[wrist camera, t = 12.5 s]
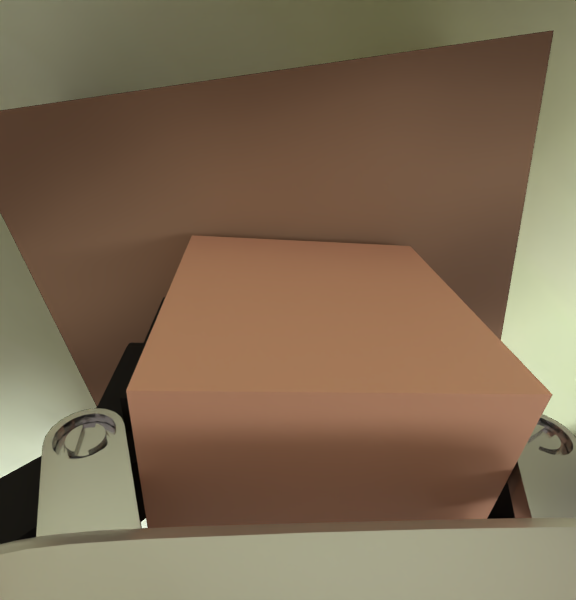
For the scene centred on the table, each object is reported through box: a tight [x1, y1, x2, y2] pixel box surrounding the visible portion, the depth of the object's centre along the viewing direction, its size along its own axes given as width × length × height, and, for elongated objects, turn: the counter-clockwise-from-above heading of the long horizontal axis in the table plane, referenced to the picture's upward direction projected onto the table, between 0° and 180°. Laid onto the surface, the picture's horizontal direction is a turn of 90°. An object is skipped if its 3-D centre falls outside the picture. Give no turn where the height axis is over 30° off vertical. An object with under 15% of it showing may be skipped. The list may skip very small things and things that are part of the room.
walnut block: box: [0, 30, 554, 406], centre depth 15 cm, size 14×14×6 cm
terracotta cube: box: [126, 235, 552, 528], centre depth 9 cm, size 6×6×6 cm
